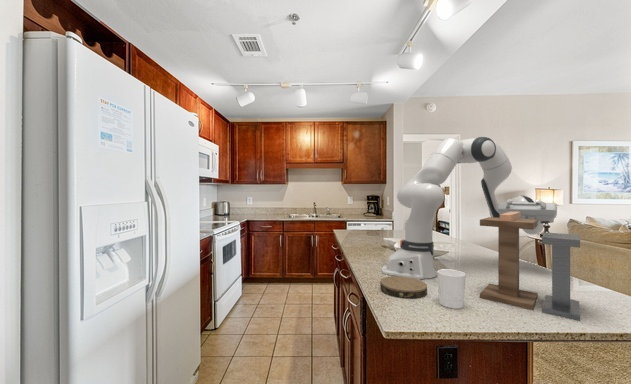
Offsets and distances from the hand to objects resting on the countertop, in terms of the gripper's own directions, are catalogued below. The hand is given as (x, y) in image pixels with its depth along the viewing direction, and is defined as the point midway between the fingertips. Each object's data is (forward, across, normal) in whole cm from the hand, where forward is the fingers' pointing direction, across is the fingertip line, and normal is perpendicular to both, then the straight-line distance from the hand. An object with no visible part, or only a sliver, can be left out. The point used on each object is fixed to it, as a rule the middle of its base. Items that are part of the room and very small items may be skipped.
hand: (523, 201), depth 112 cm
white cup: (+29, -12, +50) cm, 60 cm away
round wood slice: (+28, -29, +50) cm, 64 cm away
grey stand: (+12, +12, +42) cm, 45 cm away
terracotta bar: (+20, 0, +16) cm, 25 cm away
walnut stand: (+12, -1, +42) cm, 43 cm away
